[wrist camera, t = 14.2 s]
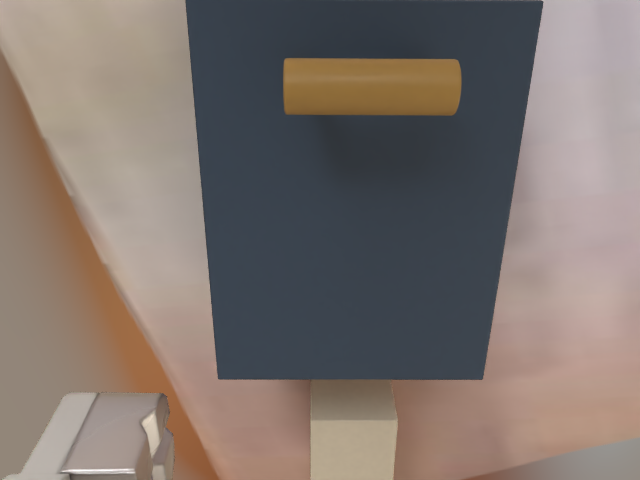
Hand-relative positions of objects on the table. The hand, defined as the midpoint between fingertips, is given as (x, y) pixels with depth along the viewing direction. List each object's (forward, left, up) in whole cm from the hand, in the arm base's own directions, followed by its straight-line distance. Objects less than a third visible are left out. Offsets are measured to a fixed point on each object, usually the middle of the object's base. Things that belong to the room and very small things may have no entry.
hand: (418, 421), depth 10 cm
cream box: (+19, +1, -22) cm, 29 cm away
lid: (+2, 0, -14) cm, 14 cm away
